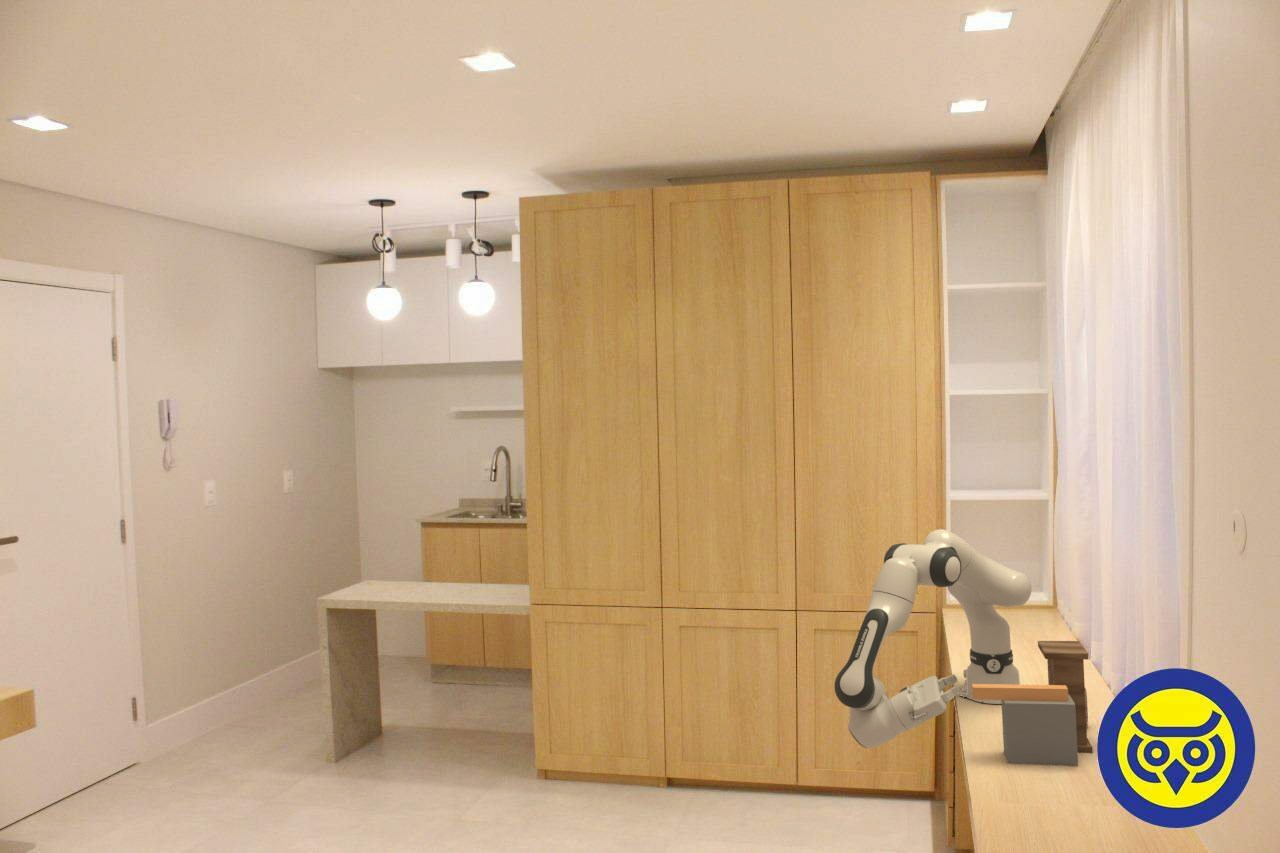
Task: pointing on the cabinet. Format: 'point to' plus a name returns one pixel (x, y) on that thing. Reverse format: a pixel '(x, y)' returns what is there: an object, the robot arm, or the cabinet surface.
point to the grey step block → (1040, 732)
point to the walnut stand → (1069, 680)
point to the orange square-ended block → (1020, 692)
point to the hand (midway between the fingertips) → (957, 682)
